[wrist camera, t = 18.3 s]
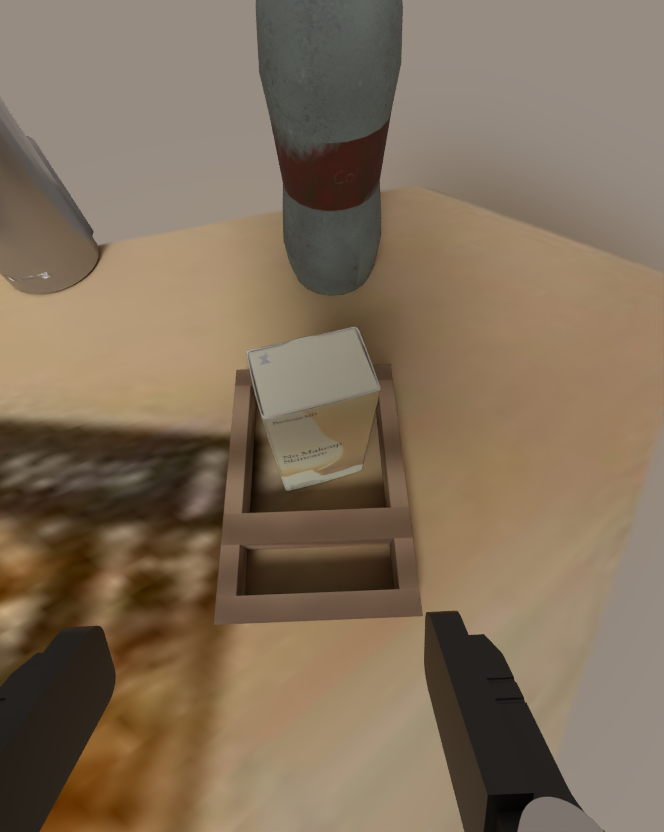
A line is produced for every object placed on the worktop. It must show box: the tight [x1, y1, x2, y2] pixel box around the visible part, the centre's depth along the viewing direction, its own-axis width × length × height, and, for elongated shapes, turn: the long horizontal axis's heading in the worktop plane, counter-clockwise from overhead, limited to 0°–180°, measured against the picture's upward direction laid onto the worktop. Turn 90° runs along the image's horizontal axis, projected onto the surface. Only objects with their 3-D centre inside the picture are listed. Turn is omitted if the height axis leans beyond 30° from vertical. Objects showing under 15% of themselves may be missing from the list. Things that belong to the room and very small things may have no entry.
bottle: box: [256, 0, 403, 295], centre depth 26 cm, size 9×9×30 cm
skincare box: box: [246, 327, 380, 491], centre depth 25 cm, size 6×4×12 cm
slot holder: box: [214, 364, 423, 625], centre depth 28 cm, size 18×12×2 cm
